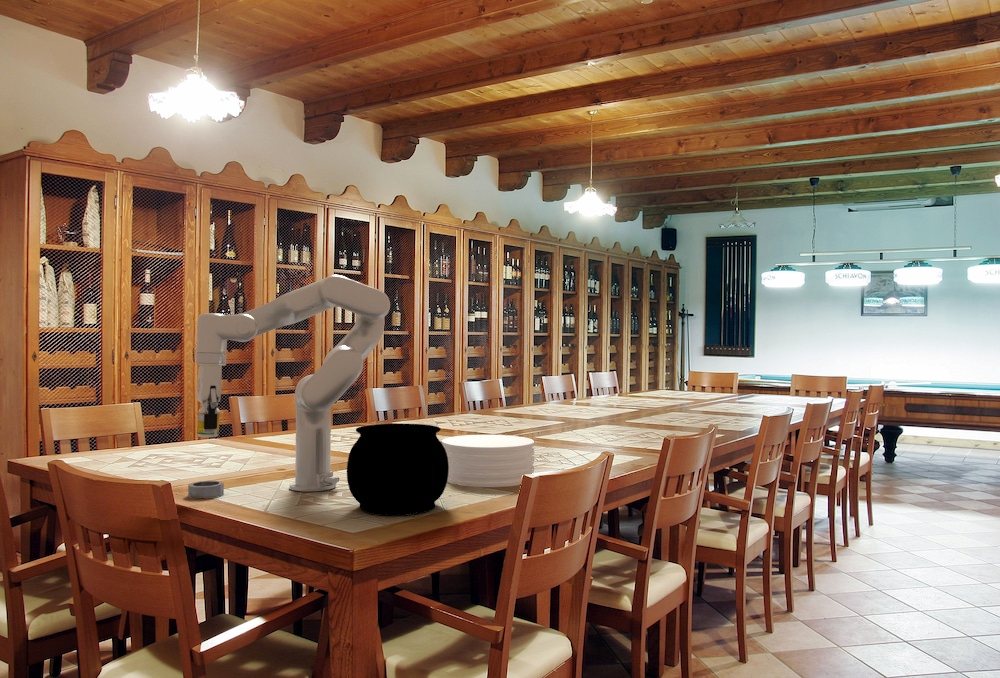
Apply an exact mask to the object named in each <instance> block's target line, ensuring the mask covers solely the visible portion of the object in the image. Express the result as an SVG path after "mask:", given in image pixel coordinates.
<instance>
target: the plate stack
mask: <svg viewBox="0 0 1000 678" xmlns="http://www.w3.org/2000/svg"><path fill="white" fill-rule="evenodd" d="M441 443H442V445H443V446H444V448H445V450H446V453H447V457H448V464H449V472H448V480H447V483H448V482H449V484H452V485H456V484H457V486H465V487H476V488H501V487H502V488H503V487H513V486H521V485H520V482H521V477H522V475H524V474H532V473H533V474H534V472H535V466H534V464H535V457H534V455H535V449H534V448H533V447H535V441H534V439H532V438H529V437H524V436H517V435H508V434H468V435H466V434H465V435H454V436H450V437H446V438H444V439H442V440H441Z"/></svg>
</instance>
